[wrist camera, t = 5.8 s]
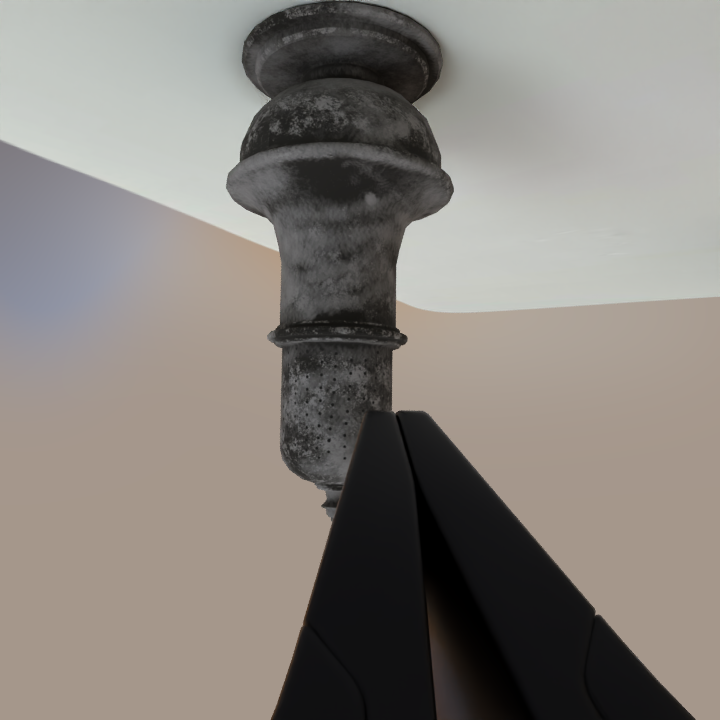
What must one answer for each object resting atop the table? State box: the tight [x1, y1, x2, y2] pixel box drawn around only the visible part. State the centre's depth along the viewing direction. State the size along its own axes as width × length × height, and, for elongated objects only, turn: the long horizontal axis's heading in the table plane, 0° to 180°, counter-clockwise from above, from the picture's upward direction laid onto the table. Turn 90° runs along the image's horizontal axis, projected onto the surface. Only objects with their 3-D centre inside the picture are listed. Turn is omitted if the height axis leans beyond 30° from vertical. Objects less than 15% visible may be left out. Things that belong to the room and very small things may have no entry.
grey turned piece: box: [226, 2, 454, 522], centre depth 16 cm, size 6×6×12 cm
